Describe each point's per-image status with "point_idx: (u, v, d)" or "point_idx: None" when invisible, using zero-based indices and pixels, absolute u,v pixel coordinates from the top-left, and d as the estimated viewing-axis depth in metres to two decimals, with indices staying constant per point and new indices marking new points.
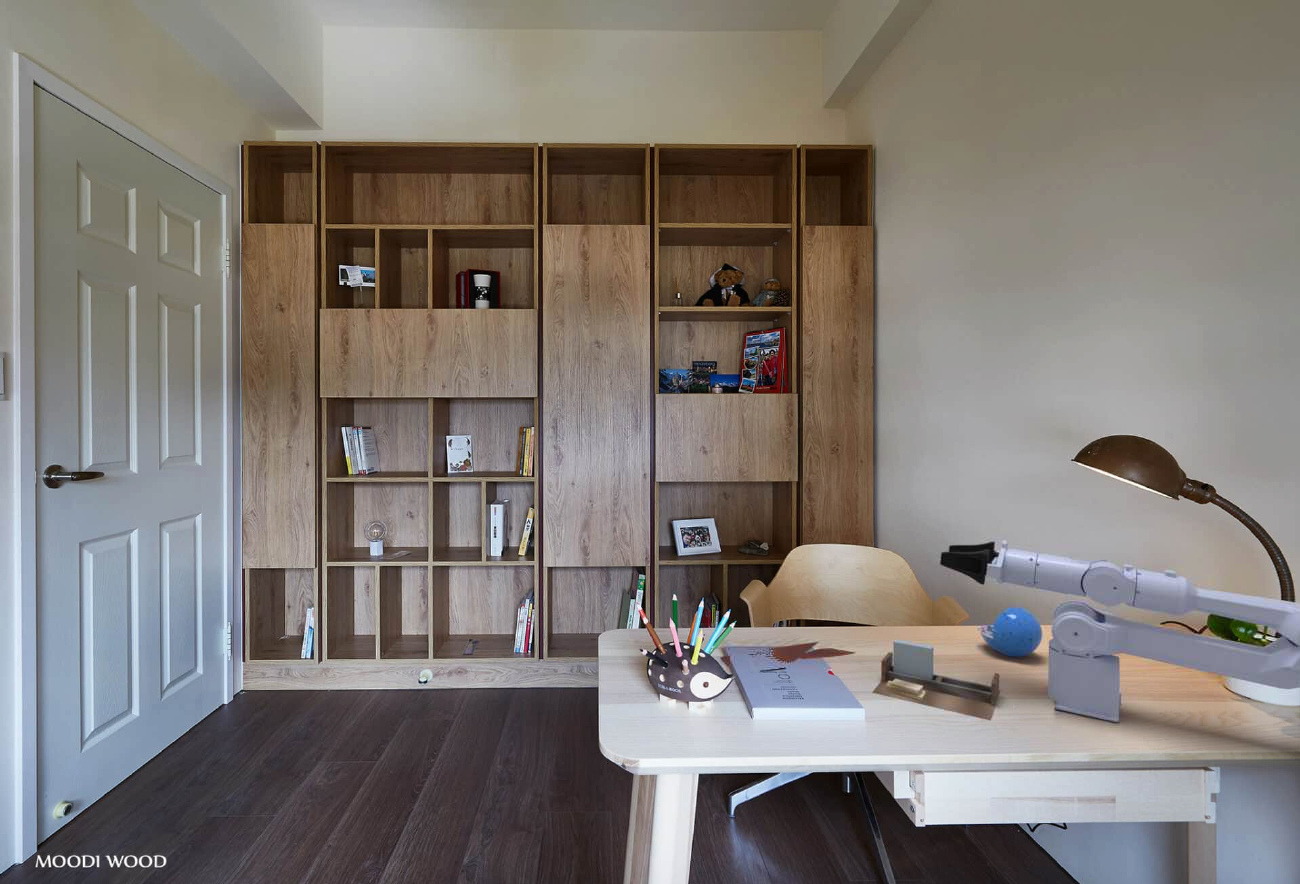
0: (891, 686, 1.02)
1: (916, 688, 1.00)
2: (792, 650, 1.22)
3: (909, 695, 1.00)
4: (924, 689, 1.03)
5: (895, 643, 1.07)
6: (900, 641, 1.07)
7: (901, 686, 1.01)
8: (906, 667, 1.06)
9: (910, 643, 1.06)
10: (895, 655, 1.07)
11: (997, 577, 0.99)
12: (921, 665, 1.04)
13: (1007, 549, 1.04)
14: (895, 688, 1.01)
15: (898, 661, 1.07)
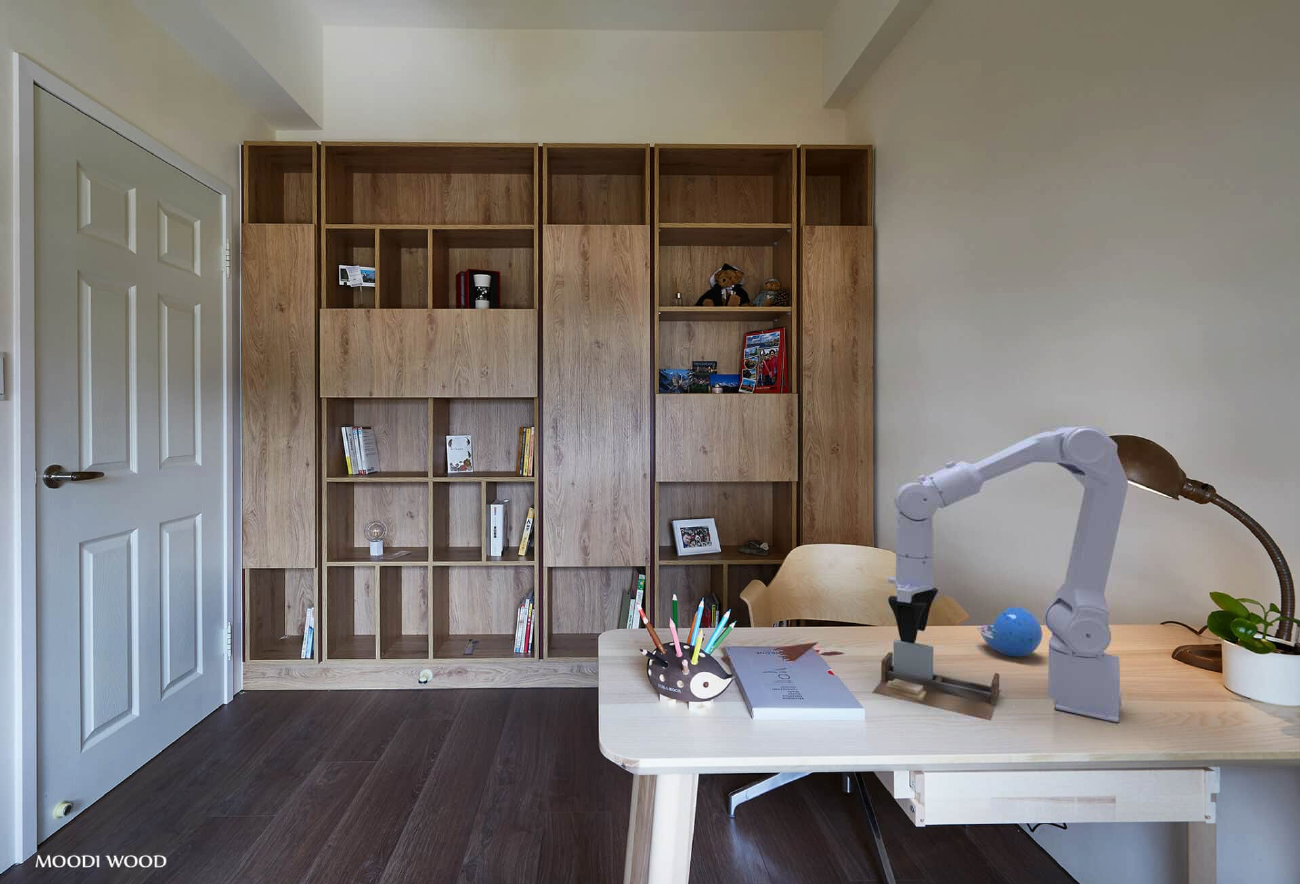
0: (891, 686, 1.02)
1: (916, 688, 1.00)
2: (792, 650, 1.22)
3: (909, 695, 1.00)
4: (924, 689, 1.03)
5: (895, 643, 1.07)
6: (900, 641, 1.07)
7: (901, 686, 1.01)
8: (906, 667, 1.06)
9: (910, 643, 1.06)
10: (895, 655, 1.07)
11: (908, 592, 0.99)
12: (921, 665, 1.04)
13: (895, 578, 1.07)
14: (895, 688, 1.01)
15: (898, 661, 1.07)
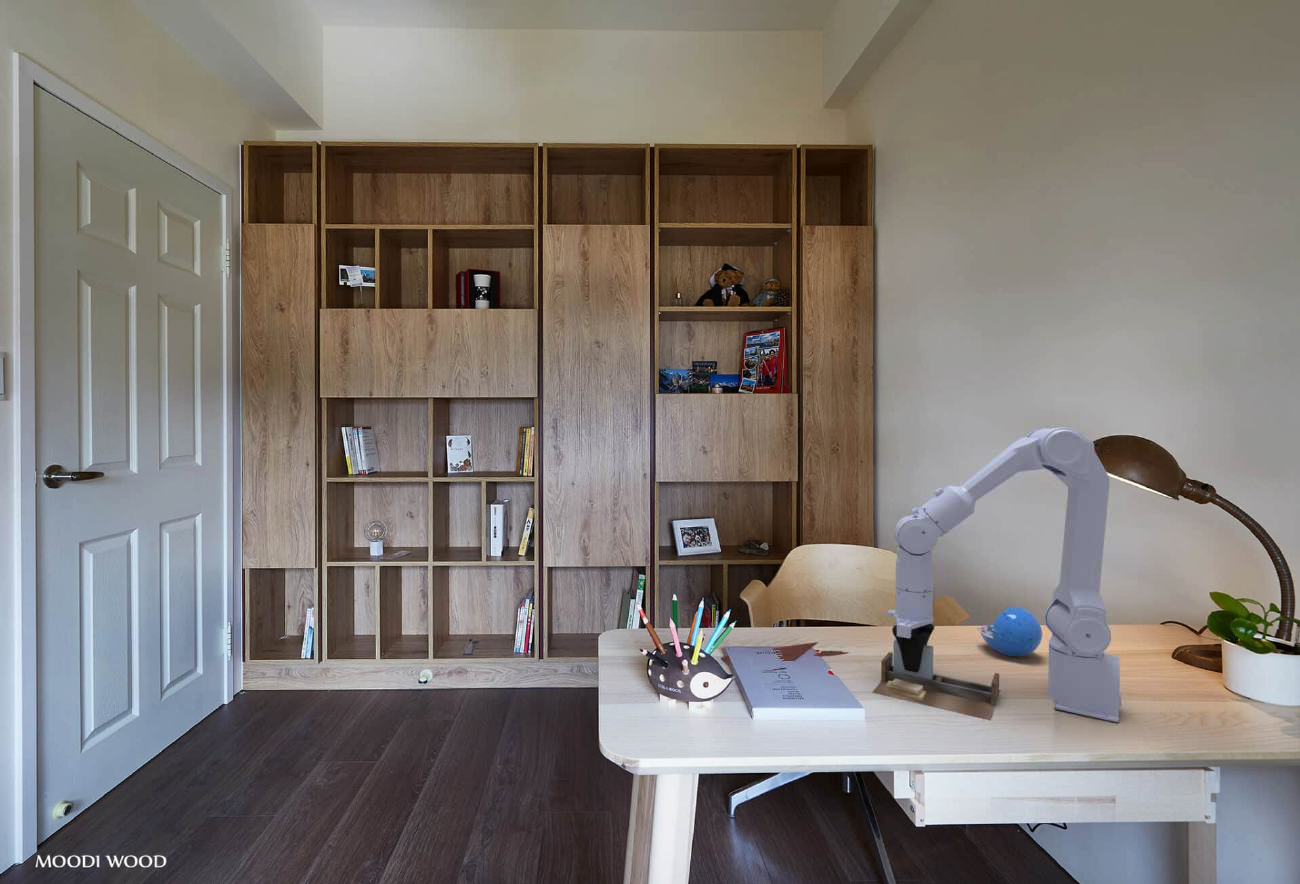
0: (891, 686, 1.02)
1: (916, 688, 1.00)
2: (792, 650, 1.22)
3: (909, 695, 1.00)
4: (924, 689, 1.03)
5: (895, 643, 1.07)
6: None
7: (901, 686, 1.01)
8: None
9: None
10: (895, 655, 1.07)
11: (908, 628, 0.99)
12: (921, 665, 1.04)
13: (895, 611, 1.07)
14: (895, 688, 1.01)
15: (898, 661, 1.07)
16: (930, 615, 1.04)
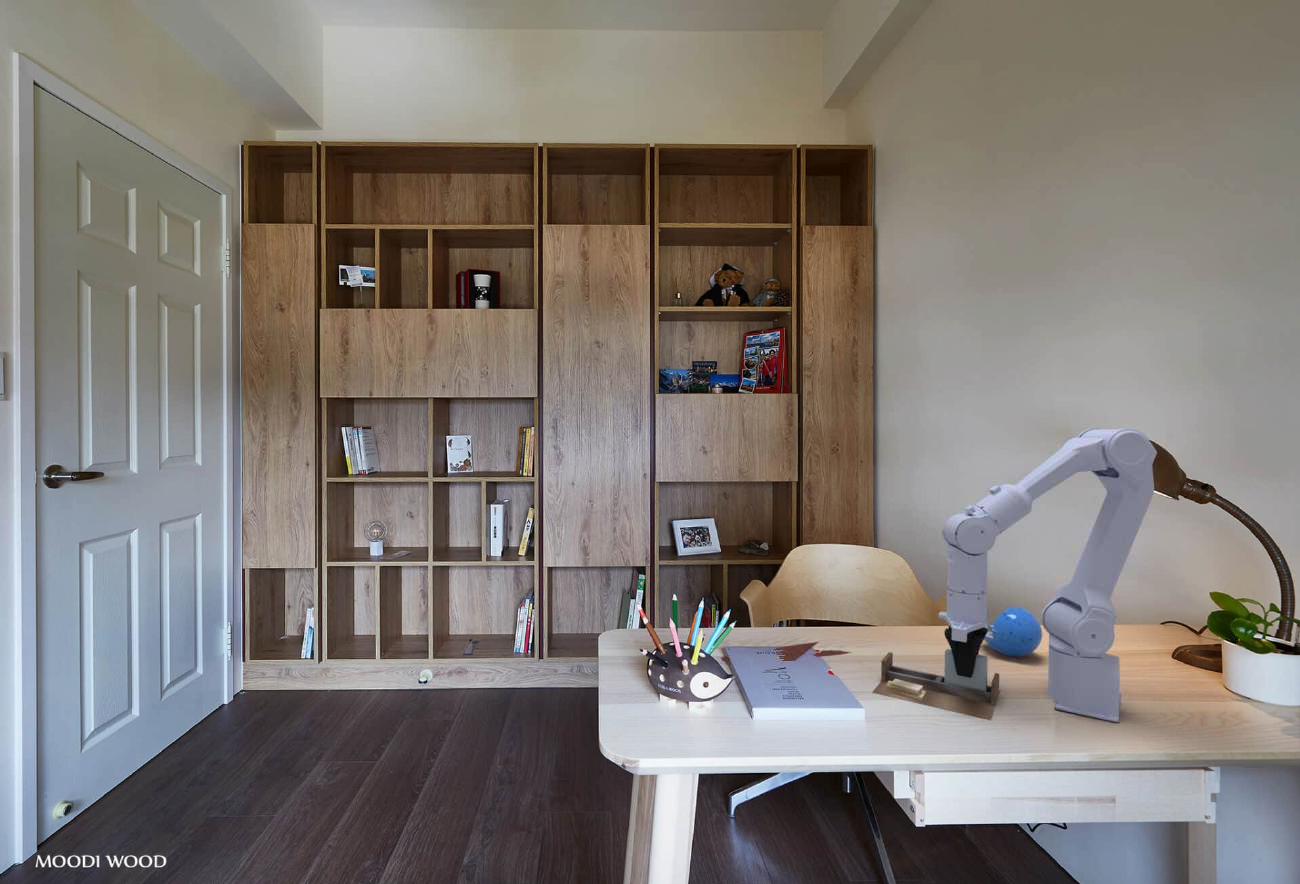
0: (891, 686, 1.02)
1: (916, 688, 1.00)
2: (792, 650, 1.22)
3: (909, 695, 1.00)
4: (924, 689, 1.03)
5: (946, 653, 1.02)
6: (951, 651, 1.02)
7: (901, 686, 1.01)
8: (958, 678, 1.01)
9: None
10: (946, 665, 1.02)
11: (964, 631, 0.95)
12: (975, 676, 1.00)
13: (947, 613, 1.02)
14: (895, 688, 1.01)
15: (950, 672, 1.02)
16: (985, 618, 0.99)
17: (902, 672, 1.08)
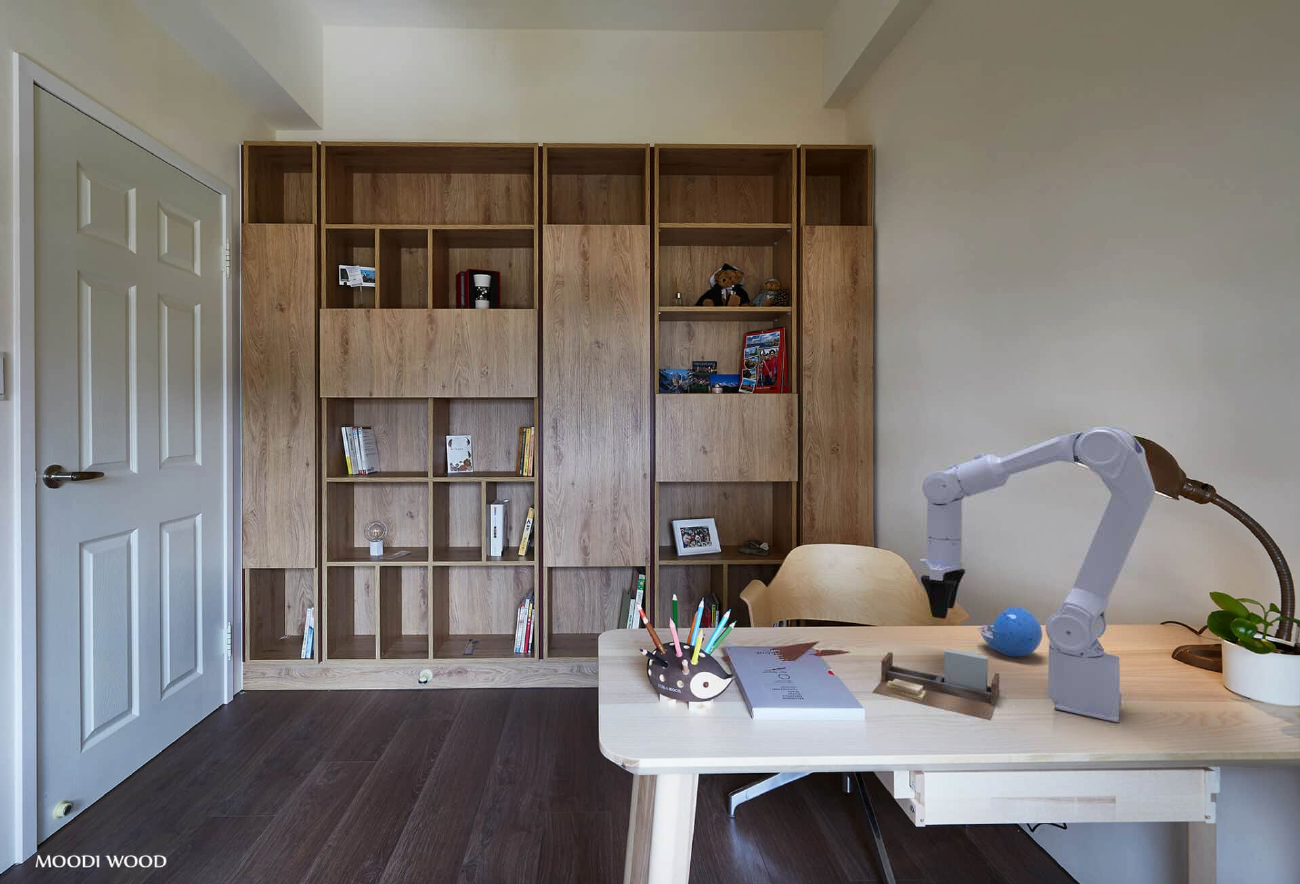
0: (891, 686, 1.02)
1: (916, 688, 1.00)
2: (793, 650, 1.22)
3: (909, 695, 1.00)
4: (924, 689, 1.03)
5: (946, 653, 1.02)
6: (951, 651, 1.02)
7: (901, 686, 1.01)
8: (958, 678, 1.01)
9: (962, 652, 1.02)
10: (946, 665, 1.02)
11: (940, 571, 1.08)
12: (975, 676, 1.00)
13: (926, 559, 1.15)
14: (895, 688, 1.01)
15: (950, 672, 1.02)
16: (959, 561, 1.12)
17: (902, 672, 1.08)
